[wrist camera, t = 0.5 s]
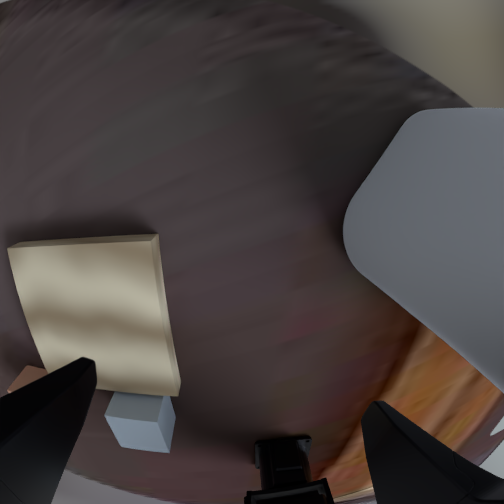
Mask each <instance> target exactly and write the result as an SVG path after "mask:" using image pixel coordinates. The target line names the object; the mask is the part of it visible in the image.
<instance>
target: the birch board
mask: <svg viewBox="0 0 504 504" xmlns="http://www.w3.org/2000/svg"><path fill="white" fill-rule="evenodd" d="M7 250H8V255H9V259H10V264H11V268H12V272H13V276H14V280H15V284H16V288H17V291H18V295H19V298H20V301H21V305H22V308H23V311H24V314H25V317H26V320H27V323H28V326H29V328H30V331H31V334H32V337H33V339H34V342H35V344H36V347H37V349H38V352H39V354H40V356H41V359H42V361H43V363H44V366H45V368H46V370H47V372H48V374H49V373H51V372H53V371H55V370H57V369H59V368H61V367H63V366H65V365H67V364H69V363H71V362H73V361H74V360H76V359H78V358H80V357H87V358H90V359H93V360H94V361H95V363H96V372H97V386H96V389H103V390H110V391H118V392H127V393H136V394H147V395H161V396H178V394H179V389H180V385H181V379H180V374H179V370H178V365H177V360H176V355H175V349H174V344H173V339H172V333H171V327H170V321H169V315H168V309H167V302H166V295H165V288H164V281H163V273H162V265H161V256H160V247H159V237H158V234H141V235H122V236H103V237H86V238H70V239H54V240H40V241H26V242H19V243H17V244H15V245H13V246H11V247H9V248H7Z"/></svg>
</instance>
